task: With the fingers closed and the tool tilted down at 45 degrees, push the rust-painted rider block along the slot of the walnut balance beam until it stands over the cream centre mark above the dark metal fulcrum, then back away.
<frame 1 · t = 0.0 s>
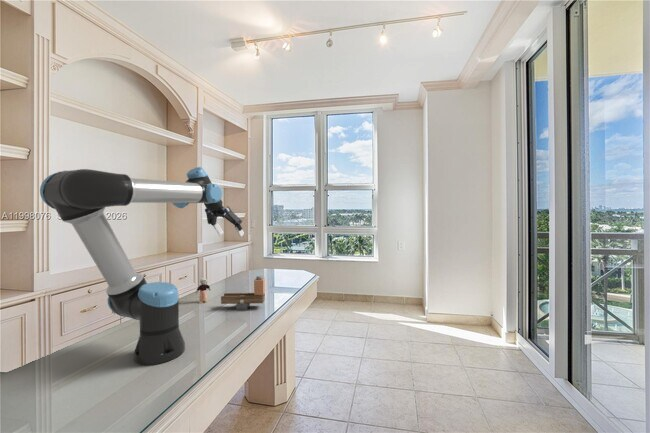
hand: (231, 234, 150), 36 cm above the table, tool tilted 35°, fingers open, 13 cm apart
rider: (259, 286, 149), point 10 cm above the table, slide at 0.0 cm
beam: (243, 307, 150), on the table
grandmother figurine: (203, 302, 159), on the table
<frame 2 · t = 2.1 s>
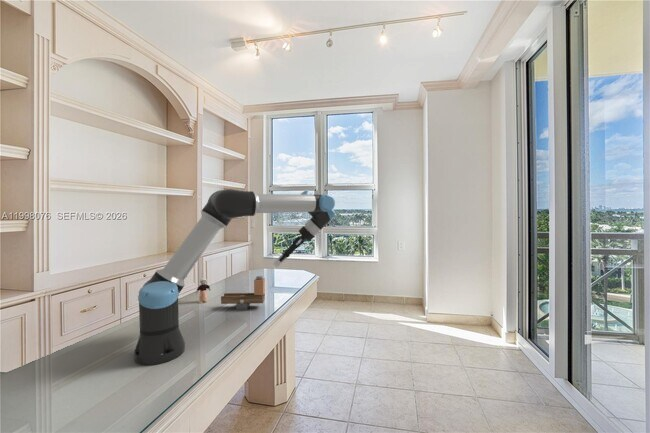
hand: (275, 264, 149), 21 cm above the table, tool tilted 45°, fingers open, 3 cm apart
nothing on the table moved.
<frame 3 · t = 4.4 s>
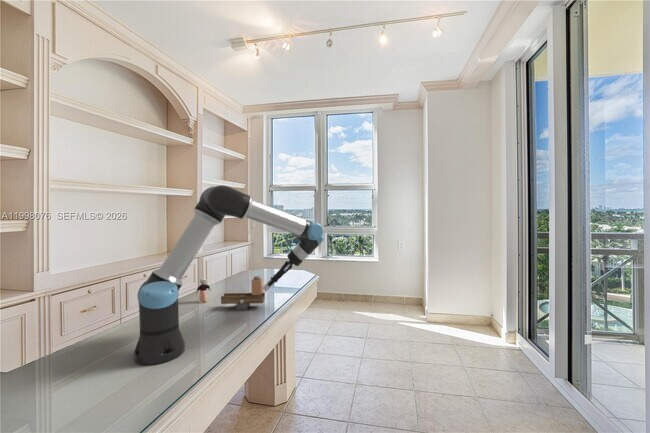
hand: (264, 289, 149), 9 cm above the table, tool tilted 45°, fingers closed
rider: (257, 286, 149), point 10 cm above the table, slide at 1.2 cm
everything else where it was.
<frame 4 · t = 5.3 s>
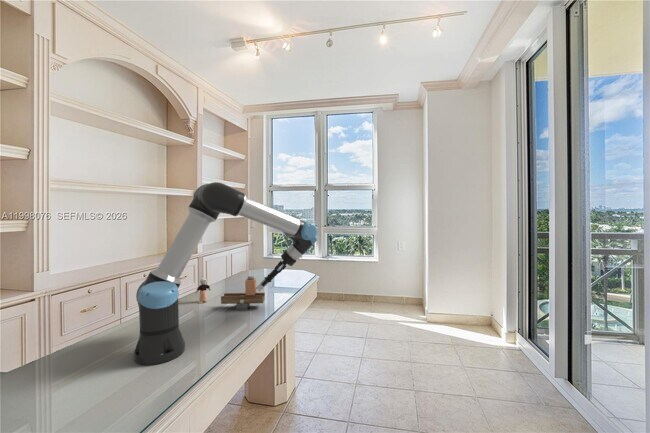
hand: (258, 289, 150), 9 cm above the table, tool tilted 45°, fingers closed
rider: (250, 287, 149), point 10 cm above the table, slide at 4.3 cm, touching gripper
everything else where it was.
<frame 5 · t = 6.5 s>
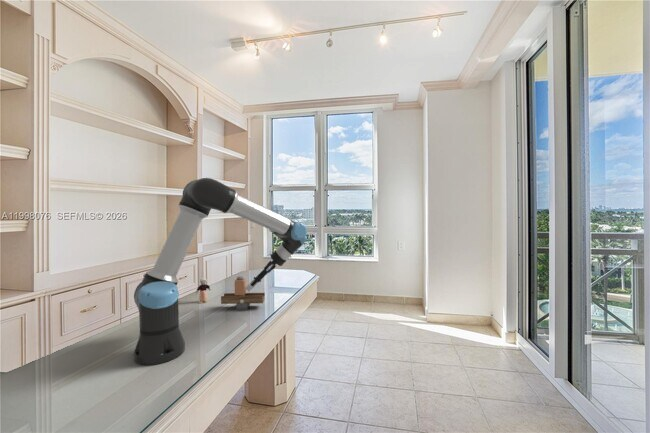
hand: (247, 289, 149), 9 cm above the table, tool tilted 45°, fingers closed
rider: (240, 287, 149), point 10 cm above the table, slide at 9.4 cm, touching gripper
everything else where it was.
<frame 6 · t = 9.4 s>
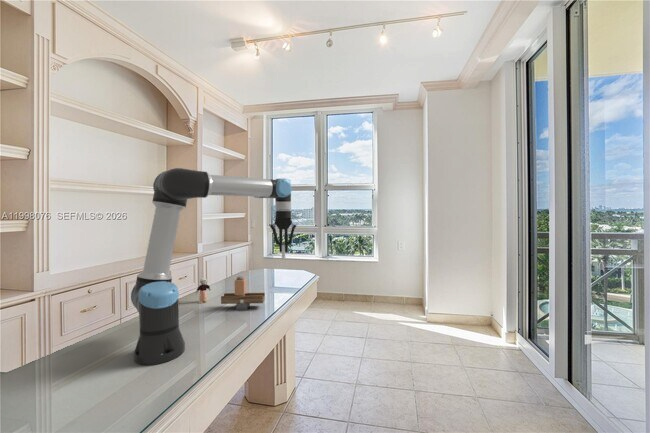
hand: (283, 258, 149), 24 cm above the table, tool pointing down, fingers closed
rider: (240, 287, 149), point 10 cm above the table, slide at 9.4 cm
everything else where it was.
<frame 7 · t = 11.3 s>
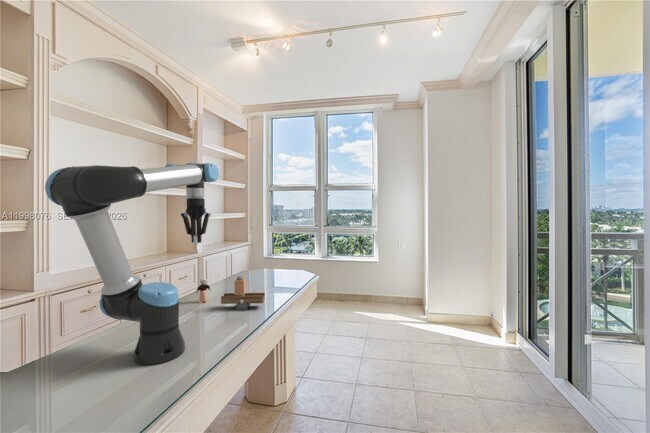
hand: (196, 249, 138), 30 cm above the table, tool pointing down, fingers closed
nothing on the table moved.
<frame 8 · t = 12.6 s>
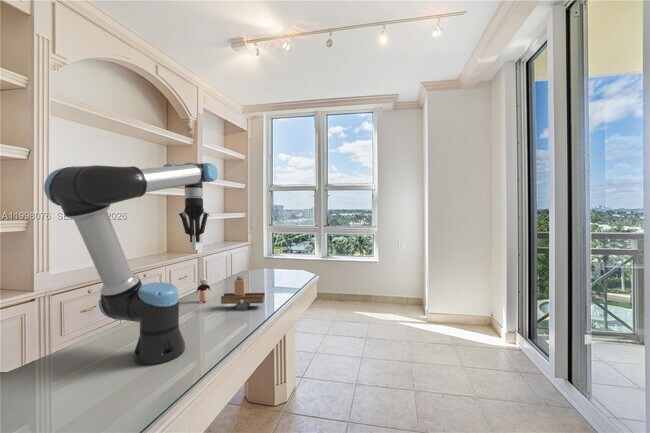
hand: (195, 249, 138), 30 cm above the table, tool pointing down, fingers closed
nothing on the table moved.
at the end: rider slide at 9.4 cm; rider 1.4 cm off-centre on the beam, point 10.2 cm above the beam's base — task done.
